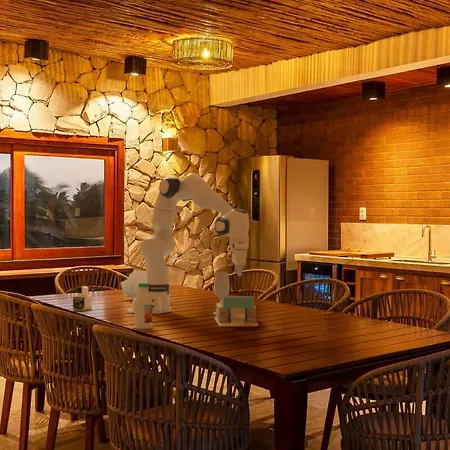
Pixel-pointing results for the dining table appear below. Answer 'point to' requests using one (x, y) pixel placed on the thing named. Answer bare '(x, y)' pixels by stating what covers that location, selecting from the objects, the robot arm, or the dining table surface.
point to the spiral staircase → (134, 283)
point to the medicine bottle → (82, 299)
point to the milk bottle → (143, 308)
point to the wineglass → (221, 285)
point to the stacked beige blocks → (235, 316)
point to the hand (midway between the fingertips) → (238, 274)
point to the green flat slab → (237, 302)
